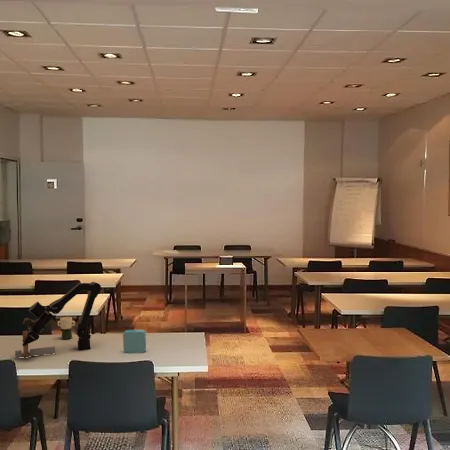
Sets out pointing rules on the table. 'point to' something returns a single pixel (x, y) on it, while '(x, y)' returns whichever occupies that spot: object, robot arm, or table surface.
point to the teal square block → (134, 341)
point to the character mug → (66, 327)
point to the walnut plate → (25, 348)
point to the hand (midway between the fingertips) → (22, 343)
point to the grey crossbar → (36, 351)
